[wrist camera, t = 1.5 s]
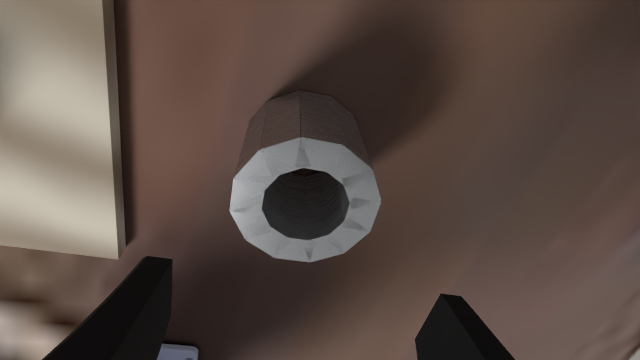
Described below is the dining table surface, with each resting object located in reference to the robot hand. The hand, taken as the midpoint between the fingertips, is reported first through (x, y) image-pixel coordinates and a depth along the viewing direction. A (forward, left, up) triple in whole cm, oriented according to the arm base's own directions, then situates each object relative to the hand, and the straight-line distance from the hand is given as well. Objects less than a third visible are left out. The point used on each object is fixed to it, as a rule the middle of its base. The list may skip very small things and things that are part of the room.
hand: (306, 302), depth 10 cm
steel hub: (0, 0, -10) cm, 10 cm away
